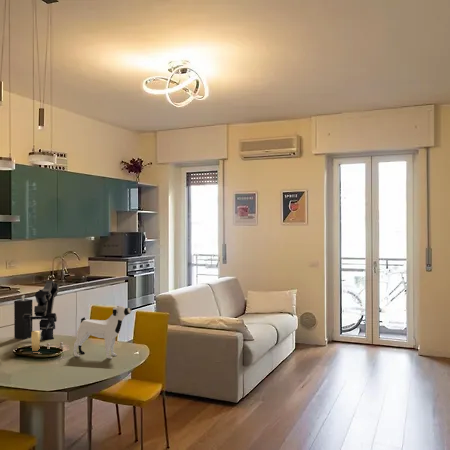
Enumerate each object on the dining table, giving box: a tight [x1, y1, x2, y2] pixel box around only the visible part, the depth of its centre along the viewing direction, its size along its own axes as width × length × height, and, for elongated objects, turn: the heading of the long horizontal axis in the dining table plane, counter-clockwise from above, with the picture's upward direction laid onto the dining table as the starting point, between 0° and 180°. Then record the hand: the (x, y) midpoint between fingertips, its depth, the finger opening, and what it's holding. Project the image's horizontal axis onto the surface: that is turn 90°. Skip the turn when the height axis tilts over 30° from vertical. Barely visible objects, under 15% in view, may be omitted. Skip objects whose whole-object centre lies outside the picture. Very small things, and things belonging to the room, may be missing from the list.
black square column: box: [13, 294, 33, 340], centre depth 302 cm, size 8×8×28 cm
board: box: [33, 341, 70, 354], centre depth 269 cm, size 26×14×4 cm, turn 112°
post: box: [31, 330, 41, 351], centre depth 267 cm, size 4×4×11 cm
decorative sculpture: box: [73, 305, 132, 360], centre depth 259 cm, size 10×32×30 cm, turn 78°
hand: (37, 329), depth 272 cm, fingers open, 9 cm apart
